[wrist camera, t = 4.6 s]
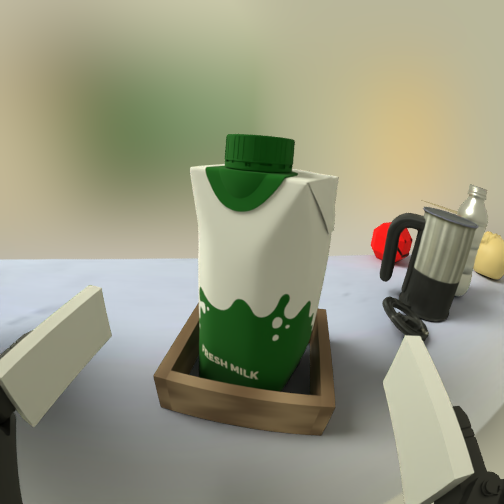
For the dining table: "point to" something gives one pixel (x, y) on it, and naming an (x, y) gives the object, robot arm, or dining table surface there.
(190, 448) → the dining table surface
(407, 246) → the ball
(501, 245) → the pale yellow rounded lump
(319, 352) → the holder
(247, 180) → the soya milk
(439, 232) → the milk frother
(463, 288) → the plastic bottle
